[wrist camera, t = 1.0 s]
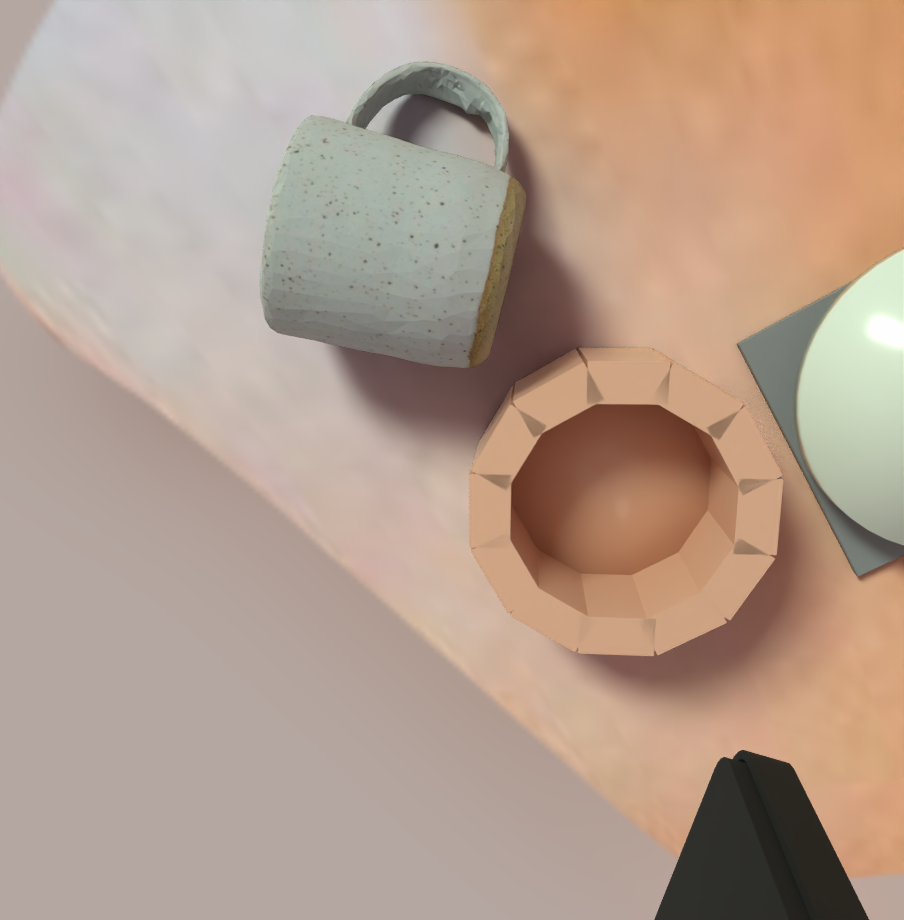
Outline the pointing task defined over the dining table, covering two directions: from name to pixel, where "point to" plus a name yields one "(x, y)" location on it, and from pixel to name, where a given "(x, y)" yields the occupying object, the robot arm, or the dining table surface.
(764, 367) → the placemat
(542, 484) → the round wooden tub
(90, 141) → the dining table surface
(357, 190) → the ceramic mug
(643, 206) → the dining table surface
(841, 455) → the lid
